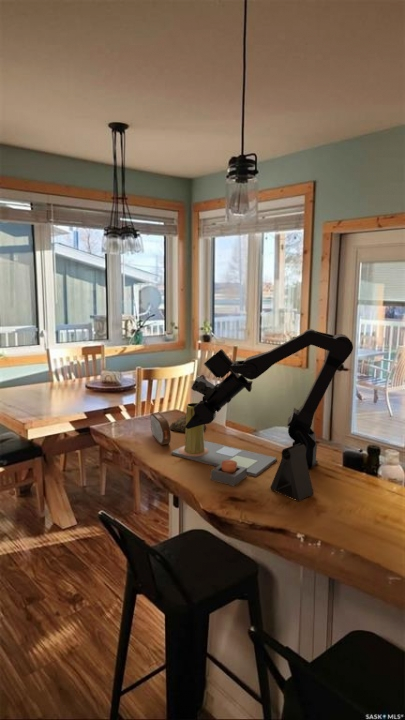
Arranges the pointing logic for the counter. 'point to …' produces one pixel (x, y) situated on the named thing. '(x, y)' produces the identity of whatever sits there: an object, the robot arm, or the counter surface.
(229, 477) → the button housing
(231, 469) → the button
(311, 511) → the counter surface
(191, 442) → the vase
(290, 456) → the phone stand
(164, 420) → the tin
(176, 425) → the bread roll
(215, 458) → the picture board
